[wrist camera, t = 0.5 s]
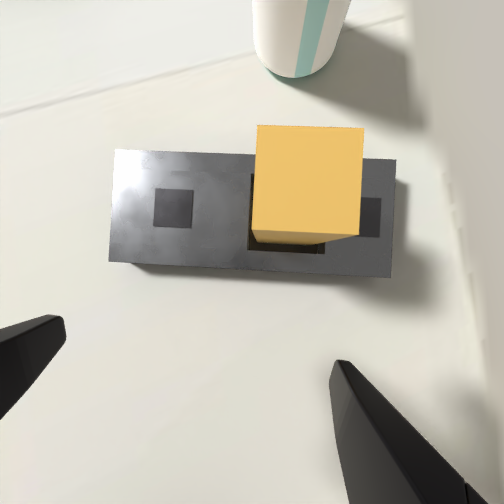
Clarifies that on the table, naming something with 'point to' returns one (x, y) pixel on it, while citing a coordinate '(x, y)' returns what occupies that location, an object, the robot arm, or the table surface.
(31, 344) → the robot arm
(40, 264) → the table surface
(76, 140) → the table surface
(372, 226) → the charcoal peg board
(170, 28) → the table surface
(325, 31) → the can
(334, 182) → the amber peg
